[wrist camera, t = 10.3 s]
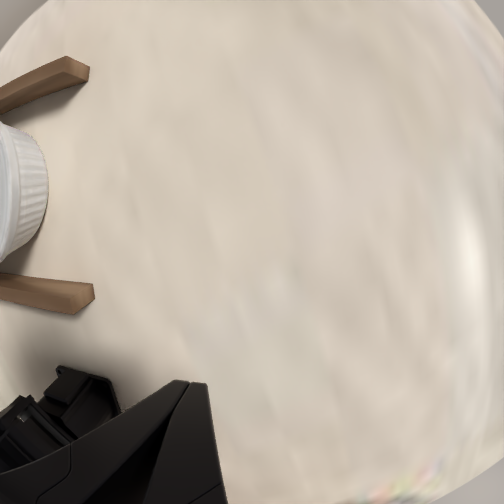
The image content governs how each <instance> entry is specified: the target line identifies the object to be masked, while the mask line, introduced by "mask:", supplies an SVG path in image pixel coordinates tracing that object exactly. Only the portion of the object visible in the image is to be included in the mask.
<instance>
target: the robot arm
mask: <svg viewBox="0 0 504 504" xmlns="http://www.w3.org/2000/svg"><path fill="white" fill-rule="evenodd" d="M56 372H57V375H58V378H57V379H56V380H55V381H54V382H53V383H52V384H51V385H50V386H49V387H48V388H47V389H46V390H45V391H44V397H43V398H42V399H41V400H40V401H39V402H38V403H36V402H35V401H34V398H33V397H32V396H31V395H29V396H28V397H27V398H26V397H23V396H21V395H19V396H18V397H17V398H16V399H15V400H14V401H13V402H12V403H11V404H10V405H9V406H8V407H6V408H5V409H4V410H2V411H1V412H0V504H228V501H227V497H226V492H225V487H224V483H223V478H222V472H221V467H220V462H219V456H218V450H217V445H216V439H215V433H214V426H213V420H212V414H211V407H210V400H209V393H208V386H207V384H206V383H199V382H191V383H190V382H189V381H183V380H173V381H171V382H170V383H168V384H167V385H165V386H164V387H162V388H161V389H159V390H158V391H156V392H155V393H153V394H152V395H150V396H148V397H147V398H145V399H144V400H142V401H141V402H139V403H137V404H136V405H134V406H133V407H131V408H129V409H128V410H126V411H125V412H123V413H121V411H120V408H119V405H118V402H117V399H116V396H115V393H114V390H113V387H112V384H111V382H110V381H109V380H108V379H106V378H103V377H99V376H95V375H91V374H87V373H84V372H80V371H76V370H73V369H69V368H66V367H63V366H58V367H57V368H56ZM20 418H21V419H22V420H23V421H24V422H23V421H22V420H21V419H20Z"/></svg>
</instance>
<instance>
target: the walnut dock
mask: <svg viewBox="0 0 504 504" xmlns="http://www.w3.org/2000/svg"><path fill="white" fill-rule="evenodd" d="M89 70H90V67H89V66H87V65H85V64H83V63H81V62H79V61H77V60H74V59H72V58H70V57H68V56H64V57H62V58H60V59H57V60H55V61H52V62H50V63H48V64H45V65H43V66H41V67H39V68H37V69H35V70H33V71H30V72H28V73H26V74H24V75H22V76H20V77H18V78H17V79H15V80H13V81H11V82H9V83H7V84H5V85H4V86H2V87H0V115H1V114H3V113H5V112H8V111H10V110H12V109H14V108H16V107H19V106H21V105H23V104H25V103H28V102H30V101H33V100H35V99H38V98H40V97H43V96H45V95H48V94H51V93H54V92H56V91H59V90H62V89H65V88H68V87H71V86H74V85H77V84H80V83H84V82H87V81H88V78H89ZM0 299H2V300H6V301H10V302H14V303H18V304H23V305H27V306H32V307H36V308H41V309H46V310H51V311H56V312H61V313H67V314H72V315H73V314H75V313H76V312H77V311H79V310H80V309H82V308H83V307H84V306H86V305H87V304H88V303H90V302H91V301H93V300H94V299H95V295H94V289H93V284H90V283H81V282H71V281H62V280H53V279H44V278H36V277H28V276H20V275H13V274H5V273H0Z"/></svg>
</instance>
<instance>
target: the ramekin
mask: <svg viewBox="0 0 504 504" xmlns="http://www.w3.org/2000/svg"><path fill="white" fill-rule="evenodd" d="M47 199H48V171H47V166H46V161H45V158H44V155H43V153H42V151H41V149H40V146H39V145H38V144H37V142H36V140H34V138H33V137H32V136H30V135H29V134H28V133H26V132H24V131H21V130H19V129H16V128H13V127H11V126H8V125H5V124H3V123H2V122H1V121H0V262H1V261H2V260H3V259H4V258H5V257H6V256H7V255H9V254H10V253H11V252H13V251H14V250H16V249H18V248H19V247H21V246H22V245H24V244H25V243H27V242H28V241H29V240H30V239H31V238H32V237H33V235H34V234H35V233H36V231H37V229H38V228H39V226H40V223H41V221H42V218H43V216H44V213H45V209H46V205H47Z"/></svg>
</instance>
